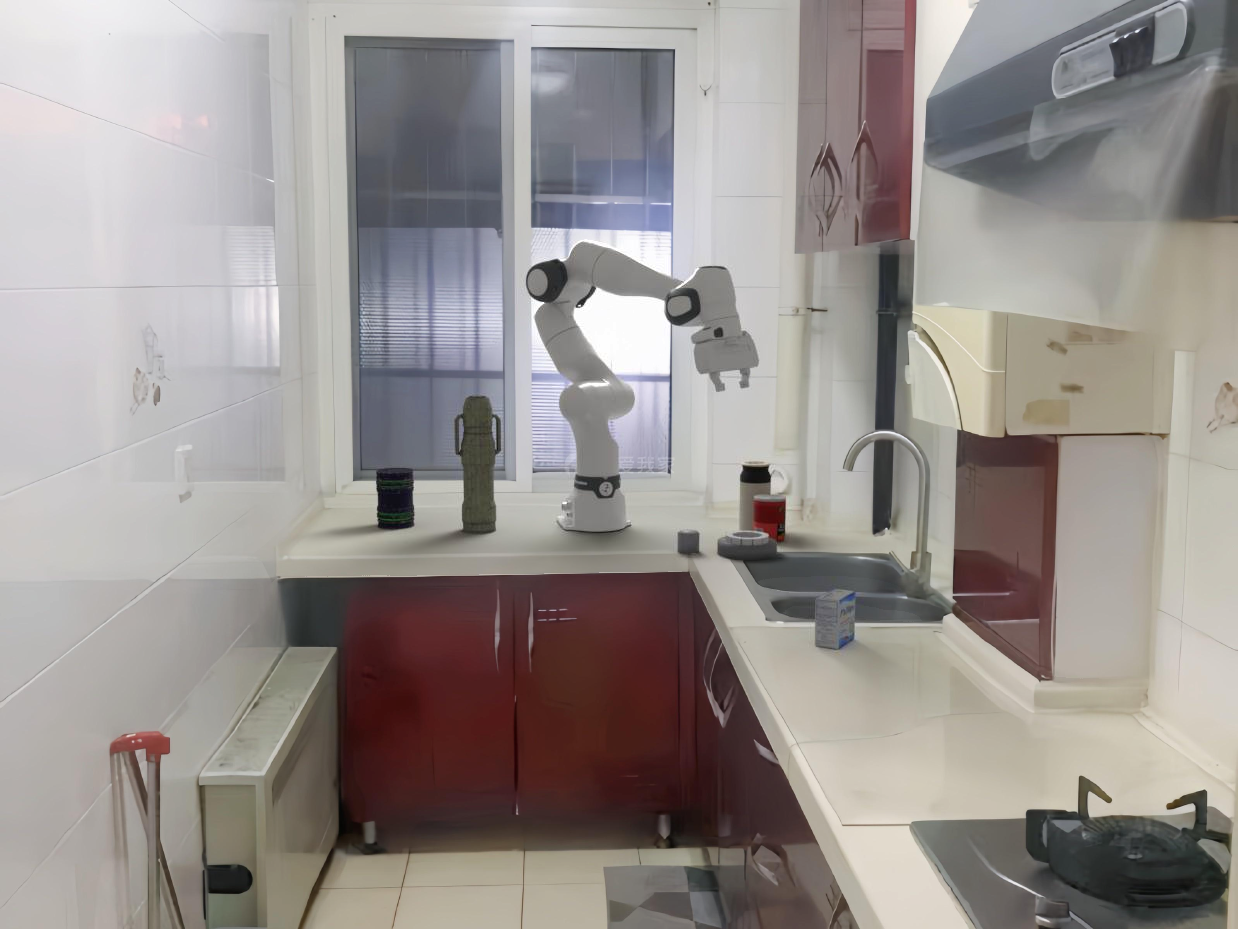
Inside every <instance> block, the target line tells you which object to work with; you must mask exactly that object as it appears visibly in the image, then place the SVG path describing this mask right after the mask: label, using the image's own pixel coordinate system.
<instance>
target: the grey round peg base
mask: <svg viewBox="0 0 1238 929" xmlns="http://www.w3.org/2000/svg"><path fill="white" fill-rule="evenodd" d="M716 543H717V548H716V549H717V550H716V551H717V552H716V553H717V555H719V556H720V557H723V556H724V558H726V557H727V559H731V558H732V559H733V558H734V559H733V560H740V559H742V560H741V561H743V560H745V561H758V560H768V559H772V558H775V557H777V555H776V554H778V542H777V541H776V540H775V539H772V538H769V534H767V533H764V532H758V531H740V530H733V531H728V532H726V533H725V536H721V537H720V538H718V539H717V542H716Z"/></svg>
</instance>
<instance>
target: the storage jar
mask: <svg viewBox="0 0 1238 929" xmlns="http://www.w3.org/2000/svg"><path fill="white" fill-rule="evenodd" d="M375 474H376V476H375V477H376V478H375V479H376V480H375V485H376V492H377V506H376V518H377V528H379V529H383V530H404V529H405V530H406V529H411V528H413V527H415V505H414V491H415V490H414V488H415V487H414V483H415V480H414V469H413V468H409V467H386V468H381V469H380V468H379V469H376V470H375Z"/></svg>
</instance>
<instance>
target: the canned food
mask: <svg viewBox="0 0 1238 929" xmlns="http://www.w3.org/2000/svg"><path fill="white" fill-rule="evenodd" d="M786 511H787V498H786V496H784V495H781V494H773V493H771V494H761V495H756V496H754V523H753V531H758V532H764V533H767V534H769V538H772V539H775V540H776V541H777V543H782V542H784V541H785V539H786V520H787V519H786V516H787V515H786V514H787V512H786Z"/></svg>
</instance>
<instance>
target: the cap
mask: <svg viewBox="0 0 1238 929" xmlns="http://www.w3.org/2000/svg"><path fill="white" fill-rule="evenodd" d="M676 549H677V553H678V554H682V555H693V554H692V553H696V554H699V553H700V532H699V531H698V530H696V529H681V530H679V531H678V532H677V548H676Z"/></svg>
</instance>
